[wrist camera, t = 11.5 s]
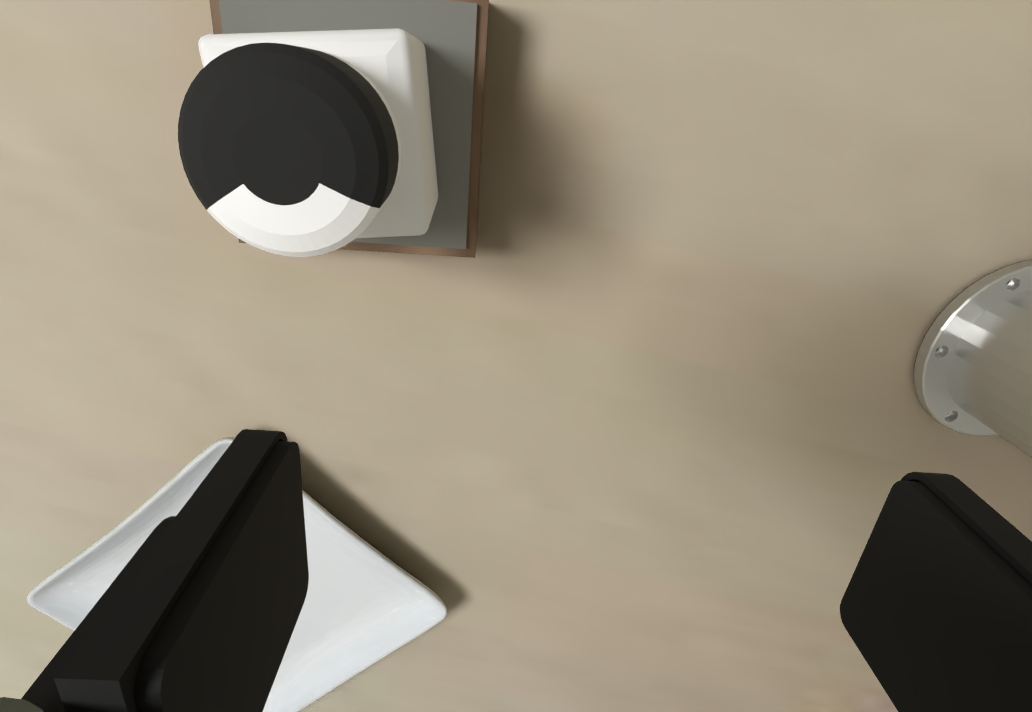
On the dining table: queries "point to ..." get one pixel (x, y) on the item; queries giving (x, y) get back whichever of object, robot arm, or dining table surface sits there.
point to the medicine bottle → (311, 137)
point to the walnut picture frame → (452, 88)
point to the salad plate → (327, 607)
